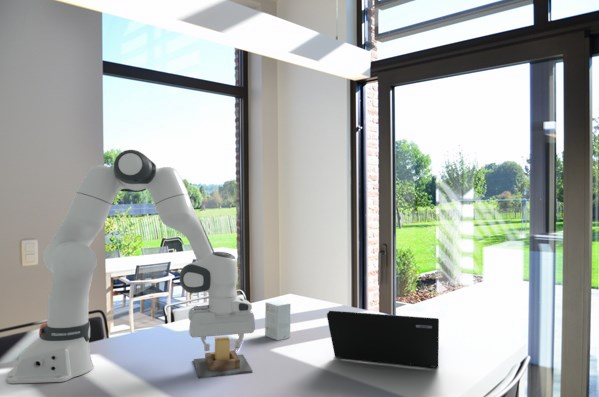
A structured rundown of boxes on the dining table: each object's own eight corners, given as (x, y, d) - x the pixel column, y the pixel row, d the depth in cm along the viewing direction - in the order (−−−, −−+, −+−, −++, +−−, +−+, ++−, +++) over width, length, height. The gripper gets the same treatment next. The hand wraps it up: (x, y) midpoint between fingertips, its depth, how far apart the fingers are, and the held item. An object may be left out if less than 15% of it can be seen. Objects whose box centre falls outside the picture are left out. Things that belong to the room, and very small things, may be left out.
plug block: (216, 367, 140) (216, 341, 140) (214, 362, 144) (214, 337, 144) (229, 366, 142) (229, 340, 142) (227, 361, 145) (227, 336, 145)
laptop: (438, 347, 166) (438, 293, 166) (439, 387, 130) (439, 319, 130) (347, 338, 175) (347, 287, 175) (324, 373, 139) (325, 309, 139)
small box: (290, 337, 174) (291, 303, 174) (277, 340, 170) (277, 305, 170) (277, 333, 180) (278, 299, 180) (264, 335, 176) (265, 301, 176)
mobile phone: (244, 338, 170) (237, 351, 155) (244, 341, 170) (237, 354, 155) (224, 338, 170) (215, 351, 155) (224, 340, 170) (215, 354, 155)
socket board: (198, 378, 133) (198, 367, 133) (193, 360, 147) (193, 351, 147) (252, 372, 138) (252, 362, 138) (242, 356, 152) (242, 346, 152)
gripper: (189, 308, 137) (188, 355, 137) (256, 304, 143) (256, 349, 143) (187, 304, 143) (187, 348, 143) (252, 300, 149) (251, 343, 149)
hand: (222, 348), depth 143 cm, fingers open, 8 cm apart
